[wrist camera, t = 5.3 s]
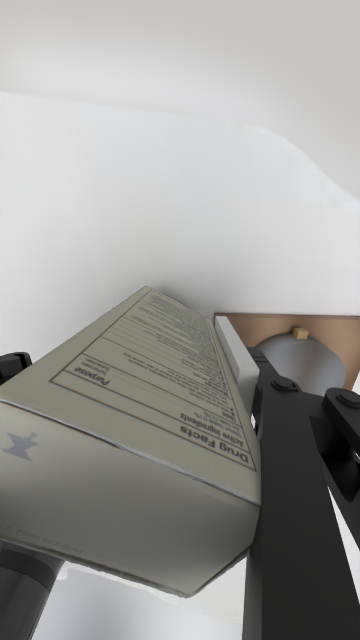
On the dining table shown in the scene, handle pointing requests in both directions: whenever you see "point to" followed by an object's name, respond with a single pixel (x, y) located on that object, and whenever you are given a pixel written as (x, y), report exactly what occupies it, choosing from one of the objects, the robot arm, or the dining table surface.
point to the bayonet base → (315, 324)
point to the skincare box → (132, 450)
